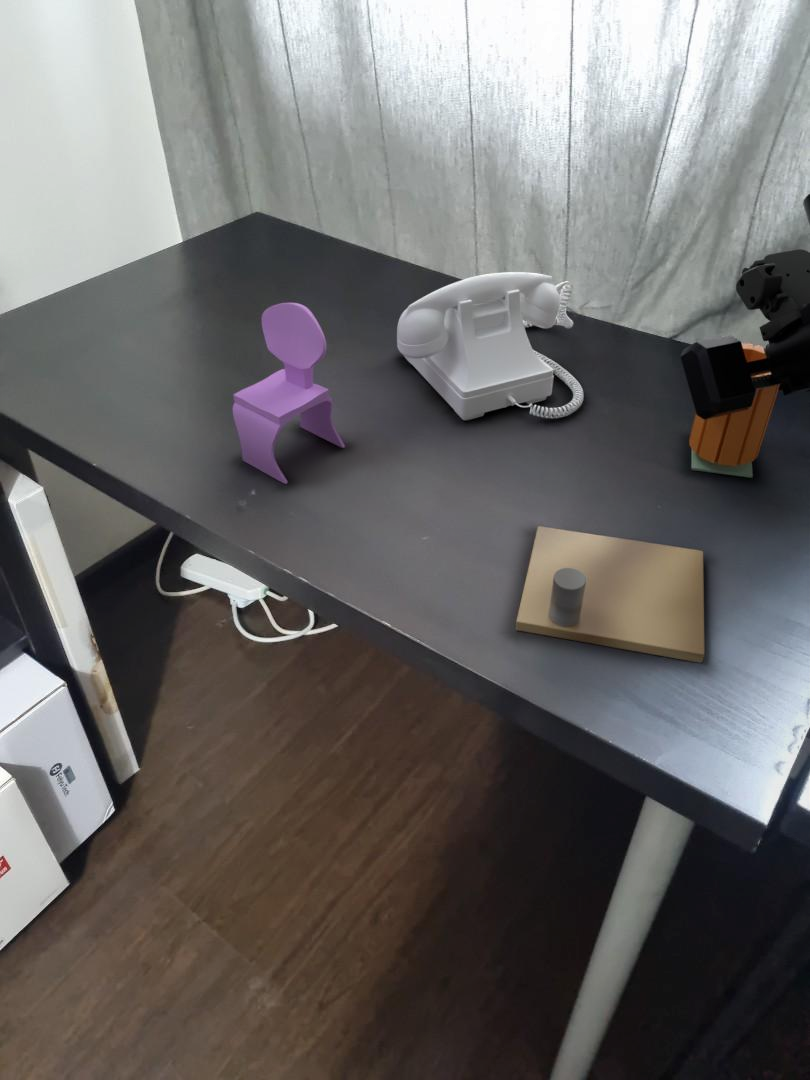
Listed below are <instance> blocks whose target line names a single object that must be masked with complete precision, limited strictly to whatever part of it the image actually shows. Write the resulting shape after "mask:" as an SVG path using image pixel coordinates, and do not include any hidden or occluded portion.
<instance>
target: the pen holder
mask: <svg viewBox="0 0 810 1080" xmlns="http://www.w3.org/2000/svg"><path fill="white" fill-rule="evenodd" d="M741 344H742V347H743V351H744V354H745V358H746V361H747V362H751V361H755V360H760V359H765V358H766V355H765V352H764V346H762V345H759V344H757V345H755V346H754V344H753V343H748V342H747V343H745V342H741ZM768 374H769V375H770V374H771V372H770V373H765V374H760V375H756V376H751V378H755V377H760V376H761V377H762V376H764V375H765V376H766V375H768ZM779 386H780V385H776V386H771V387H767V388H762V389H758V390H757V391H756V395H755V397H754V399H753V403H752V406H751V407H749V408H748V410H743V411H739V412H735V413H731V414H727V415H723V416H719V417H714V418H710V419H706V420H704V419H702V418H701V417H699V416H698V415H697V414H696V413H695V415H694V418H693V424H692V427H691V430H690V431H691V432H690V436H689V439H688V443H689V447H690V448H691V451H692V450H693V451H694V452H695V454H699V457H701V458H703V459H705V460H707V461H709V462H712V463H715V462H718V465H729V466H736V465H737V464H739V465H744V464H747V463H750V462H754V461H755V460H756V459H757V458H758V456H759V453H760V450H761V447H762V443H763V440H764V437H765V434H766V430H767V427H768V425H769V421H770V418H771V415H772V412H773V408H774V405H775V402H776V399H777V395H778V393H779V391H780V390H779Z"/></svg>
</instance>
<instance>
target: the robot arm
mask: <svg viewBox="0 0 810 1080" xmlns="http://www.w3.org/2000/svg"><path fill="white" fill-rule="evenodd" d="M802 204H803V208H804V212H805V215H806V219H807V222H808V225H809V226H810V193H809V194H807V195H806V196H805V198H804V199H803V201H802ZM741 270H742V271H741V275H740V277H739V279H738V280H737V282H736V284H735V291H736V293H737V294H738V296H739V298H740V300H741V301H742V303H743V305H744V306H745V307H746V309H747V310H748V311H753V310H760V312H761V313H762V315H763V317H764V318H765V319H766V320H767V321H768V322H766V323H764V324H763V325H761V326H759V331H760V335H761V338H762V341H763V342H768V343H767V344H766V345H764V346H763V347H764V352H765V355H766V358H765V359H760V360H755V361H751V362H747V361H746V358H745V354H744V351H743V347H742V344H741V343H742V341H741V340H740V339H738V338H736V336H734V335H732V334H727V335H723V336H717V337H713V338H707V339H703V340H697V341H695V342H693V343H692V344H690V345H689V346H687V347H685V348H684V349H683V351H682V353H681V354H680V356H679V358H680V361H681V364H682V367H683V371H684V375H685V378H686V382H687V386H688V389H689V392H690V397H691V399H692V402H693V407H694V411H695V415H696V414H697V415H698V416H699V417H701V418H702V419H704V420H706V419H710V418H714V417H719V416H723V415H727V414H731V413H735V412H739V411H743V410H748V408H749V407H751V406H752V403H753V399H754V397H755V395H756V391H757V390H758V389H762V388H767V387H771V386H776V385H780V386H779V390H778V391H782V394H783V396H788V395H794V394H797V393H802V392H810V251H808V250H806V249H803V248H797V249H791V250H786V251H779V252H775V253H769V254H766V255H765V256H764V257H763V259H758V260H754V262H753V263H751V265H750V266H747V267H746V266H745V267H744V268H743V269H741ZM770 372H771V374H770V375H769V374H768V375H766V376H765V375H764V376H762V377H761V376H760V377H755V378H751V376H756V375H760V374H765V373H770Z"/></svg>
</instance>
